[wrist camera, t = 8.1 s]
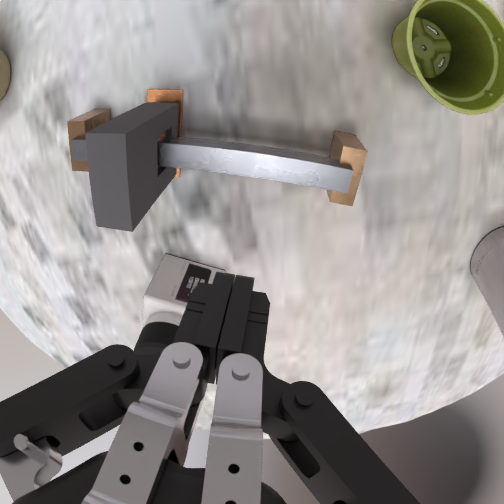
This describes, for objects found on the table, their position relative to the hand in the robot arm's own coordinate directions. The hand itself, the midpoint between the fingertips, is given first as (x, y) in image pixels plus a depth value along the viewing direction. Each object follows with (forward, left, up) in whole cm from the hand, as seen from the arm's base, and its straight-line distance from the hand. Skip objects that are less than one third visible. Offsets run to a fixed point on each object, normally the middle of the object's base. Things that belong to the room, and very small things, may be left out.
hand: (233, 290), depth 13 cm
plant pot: (-13, -13, -20) cm, 27 cm away
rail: (+5, 0, -20) cm, 20 cm away
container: (+7, +19, -20) cm, 28 cm away
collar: (+10, 0, -18) cm, 20 cm away
